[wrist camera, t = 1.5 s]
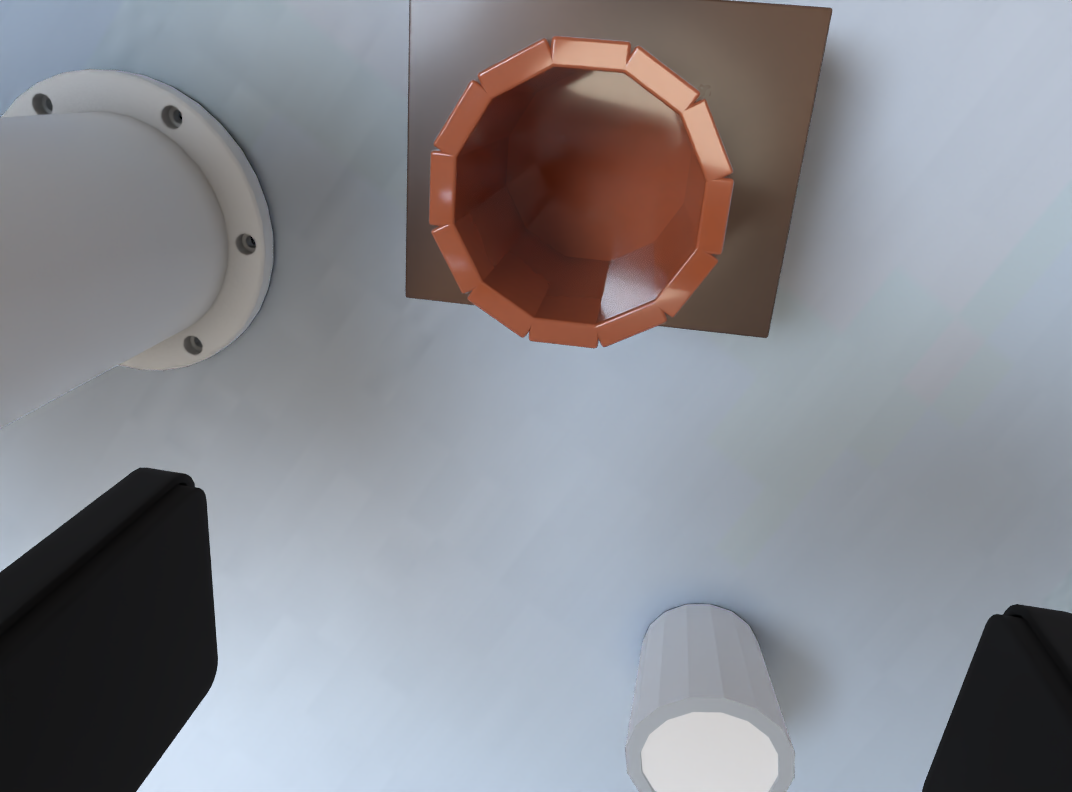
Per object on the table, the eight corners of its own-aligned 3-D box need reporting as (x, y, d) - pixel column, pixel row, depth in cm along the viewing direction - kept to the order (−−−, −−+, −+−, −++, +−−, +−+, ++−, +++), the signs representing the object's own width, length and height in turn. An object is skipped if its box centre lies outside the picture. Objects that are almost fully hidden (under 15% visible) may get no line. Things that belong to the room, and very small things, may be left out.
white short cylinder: (717, 568, 37) (730, 671, 30) (801, 667, 38) (830, 786, 32) (601, 635, 39) (590, 744, 33) (684, 727, 41) (689, 849, 34)
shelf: (452, 254, 33) (404, 297, 27) (462, -1, 29) (409, -23, 23) (745, 286, 32) (767, 338, 26) (792, 23, 28) (833, 7, 22)
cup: (485, 262, 26) (425, 329, 19) (497, 40, 23) (432, 25, 16) (690, 284, 25) (704, 362, 18) (725, 59, 23) (756, 51, 16)
